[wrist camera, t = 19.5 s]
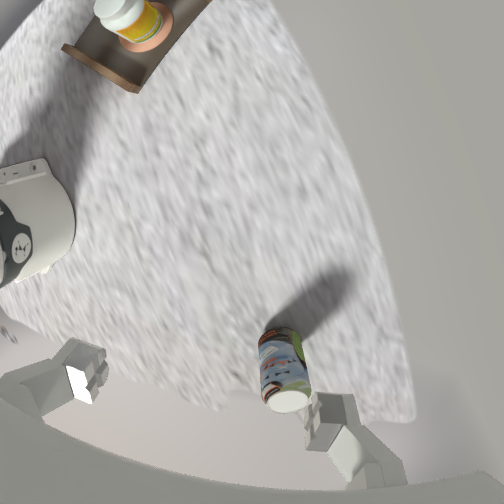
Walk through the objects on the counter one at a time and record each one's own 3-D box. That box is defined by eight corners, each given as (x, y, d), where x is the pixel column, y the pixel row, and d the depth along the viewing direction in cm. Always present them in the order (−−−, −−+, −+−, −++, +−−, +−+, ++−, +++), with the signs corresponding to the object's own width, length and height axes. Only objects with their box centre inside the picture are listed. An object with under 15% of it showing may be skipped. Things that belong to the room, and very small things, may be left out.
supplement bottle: (119, 40, 30) (79, 20, 21) (137, 6, 28) (102, -21, 19) (152, 48, 31) (116, 26, 22) (171, 12, 29) (141, -17, 20)
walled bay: (214, -3, 28) (209, -12, 26) (137, 93, 34) (127, 91, 31) (139, -34, 26) (131, -43, 24) (72, 53, 32) (60, 49, 29)
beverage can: (275, 314, 43) (272, 372, 31) (316, 339, 44) (324, 398, 32) (249, 343, 45) (240, 402, 33) (289, 365, 46) (290, 425, 34)
